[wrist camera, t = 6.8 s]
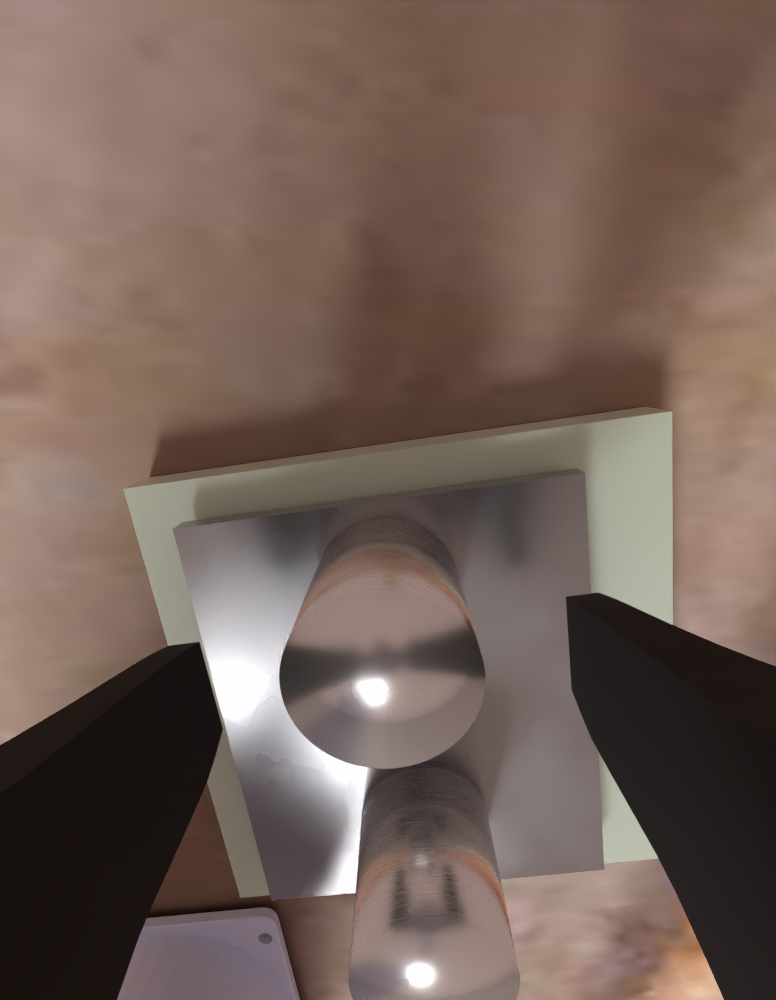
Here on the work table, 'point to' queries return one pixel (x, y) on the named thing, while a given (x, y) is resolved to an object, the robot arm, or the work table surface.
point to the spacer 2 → (429, 895)
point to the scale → (419, 465)
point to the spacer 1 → (383, 649)
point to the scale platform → (504, 648)
